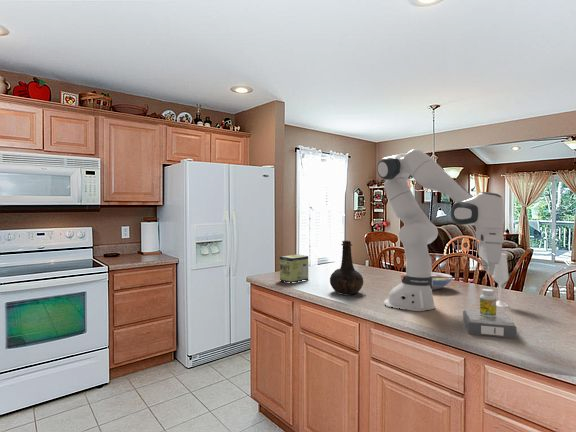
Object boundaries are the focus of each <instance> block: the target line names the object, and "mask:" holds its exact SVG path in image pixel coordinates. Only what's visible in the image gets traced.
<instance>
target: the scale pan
mask: <svg viewBox="0 0 576 432" xmlns="http://www.w3.org/2000/svg"><path fill="white" fill-rule="evenodd" d="M464 311H465V313H466V315H467V317H468V319H469V321H470V322H472V323H483V324H493V325H504V326H514V325H515V322H514V321H513V320H512V318H511V317H510V316H509V315H508V314H507V312H506V311H500V310H499V311H498V310H496V316H495V317H485V316H482V315H480V309H473V308H464Z"/></svg>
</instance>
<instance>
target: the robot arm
mask: <svg viewBox="0 0 576 432" xmlns="http://www.w3.org/2000/svg"><path fill="white" fill-rule="evenodd" d="M376 170H377V174H378V176H379V177H380V178H381V179H382V180H384V183H383V187H384V192H385V194H386V196H387V199H388V202H389V203H390V205H391V207H392V210H393V212H394V213H395V215H396V217H397V218H398V219H399V220H400V221H401V222H402V223H403V224H404V225H403V226H401V227H400V229H399V232H398V238H399V241H400V242H401V244H402V245H403V246H402V247H403V250H404V253H405V254H404V255H405V273H402V274H401V275H400V278H401V283H399V284H398V285H397V284H396V286H394V287H393V288H392V289H391V290H389V291H390V292H389V294H388V297H387V298H386V299H385V300H384V301H383V305H384V304H385V305H386V306H385V305H384V306H385V307H387V308H391V307H393V308H392V309H399V308H400V309H401V310H406V309H407V310H408V311H414V312H415V311H416V312H423V311H428V310H433V309H435V308H436V306H435V302H434V295H433V290H432V287H433V278H432V275H431V274H432V272H433V271H432V266H433V265H432V262H433V260H432V258H431V255H430V254H429V249H428V245H430V244H432V243H433V242H434V241H436V239H437V237H438V235H439V231H438V228H437V226H436V225H435V224H434V223H433V222H432V221H431V220H430V219H429V217H428V216H427V215H426V214H425V212H424V211H423V210H422V208H421V207H420V205H419V203H418V202H417V199H416V197H415V195H413V192H412V191H411V188H410V186H409V185H408V180H411V179H414V181H415V182H417V183H418V184H419V185H420V186H422V187H423V188H425V189H426V190H429V191H430V190H431V191H435V192H439V193H441V194H443V195H446V196H448V197H449V198H450V199H451V200H452V201H453V202H455V203H453V205H452V207H451V209H450V217H451V220H452V221H453V223H455V224H456V225H460V226H475V240H477V241H478V257H480V259H481V264H482V266H481V267H482V271H487V275H489V276H492V275H494V269H495V264H499V263H500V260H501V253H503V251H502V250H503V244H504V243H505V237H504V225H503V219H504V210H505V209H504V206H505V205H504V200H503V196H502V195H501V194H499V193H495V192H487V191H481V192H479V193H477V194H476V195H475V196H473V195H472V194H471V193H470V192H469V191H468V190H467V189H465V188H464V187H463V186H461V184H460V183H458V182H457V181H456V180H454V179H453V177H452V176H451V175H450V174H448V172H446V171H445V170H444V169H443V168H442V167H441V165H440V164H438V162H436V161H435V160H434V159H433V158H432V157H431V156H430V155H428V154H427V153H426V152H424V151H423V150H421V149H419V148H413V149H410V150H409V151H408V152H406V153H404V152H403V153H398V154H394V155H391V156H385V157H383V158H382V159H379V161H378V162H377V165H376Z"/></svg>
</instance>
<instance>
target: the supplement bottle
mask: <svg viewBox="0 0 576 432" xmlns="http://www.w3.org/2000/svg"><path fill="white" fill-rule="evenodd" d="M496 302H497V297H496V296H495V290H494V289H491V288H482V289H481V294H480V296H479V310H480V315H482V316H485V317H495V316H496V311H497V306H496Z"/></svg>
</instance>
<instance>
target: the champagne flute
mask: <svg viewBox="0 0 576 432" xmlns="http://www.w3.org/2000/svg"><path fill="white" fill-rule="evenodd" d="M507 255H508V254H507V253H503V252H501V260H500V263H499V264H495V269H494V275H491V277H492V280H493V281H495V283H497V284H498V300H496V307H500V308H506V307H509V305H508V304H507V303H505V302H504V301H502V290H503V289H502V287H503V285H504V284H505V283H506V282H507V281H508V280H509V278H510V277H509V268H508V267H509V266H508V256H507Z"/></svg>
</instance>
